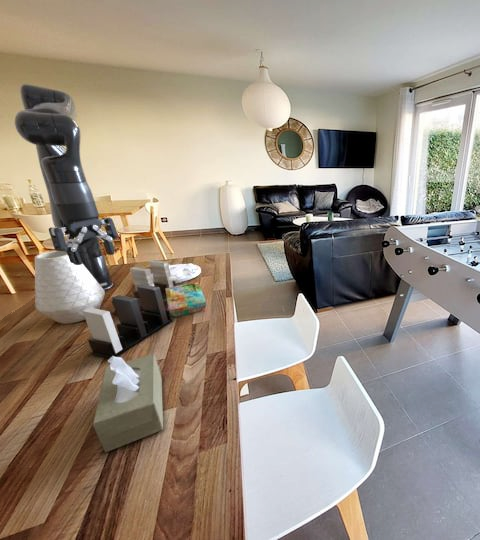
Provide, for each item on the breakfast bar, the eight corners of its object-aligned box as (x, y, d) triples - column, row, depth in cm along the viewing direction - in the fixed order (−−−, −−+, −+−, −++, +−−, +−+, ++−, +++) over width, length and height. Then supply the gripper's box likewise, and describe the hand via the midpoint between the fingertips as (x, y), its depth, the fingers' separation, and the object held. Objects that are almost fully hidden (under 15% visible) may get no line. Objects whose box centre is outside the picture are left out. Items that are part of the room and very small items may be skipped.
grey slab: (131, 316, 102) (119, 281, 96) (114, 313, 103) (102, 278, 98) (178, 291, 121) (171, 260, 115) (163, 288, 122) (156, 258, 117)
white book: (115, 353, 83) (101, 315, 78) (96, 349, 84) (82, 311, 79) (122, 349, 84) (109, 311, 79) (104, 345, 86) (89, 307, 81)
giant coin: (209, 274, 138) (208, 268, 137) (166, 289, 122) (165, 283, 121) (186, 265, 147) (185, 259, 146) (143, 277, 131) (141, 271, 130)
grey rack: (112, 359, 82) (96, 318, 76) (91, 355, 83) (75, 313, 78) (173, 321, 100) (164, 285, 95) (155, 317, 102) (145, 282, 97)
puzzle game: (168, 308, 99) (164, 286, 114) (171, 319, 101) (167, 296, 116) (205, 299, 106) (197, 280, 121) (207, 310, 107) (199, 290, 122)
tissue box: (115, 391, 71) (94, 339, 65) (161, 376, 76) (147, 327, 70) (105, 454, 57) (78, 395, 51) (163, 431, 62) (145, 374, 56)
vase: (33, 320, 98) (3, 257, 89) (94, 299, 112) (74, 243, 103) (58, 335, 91) (28, 268, 82) (120, 310, 105) (101, 251, 96)
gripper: (92, 196, 81) (110, 250, 87) (28, 203, 68) (54, 266, 74) (113, 197, 79) (130, 252, 85) (52, 205, 67) (77, 269, 73)
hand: (95, 259), depth 80 cm, fingers open, 8 cm apart
